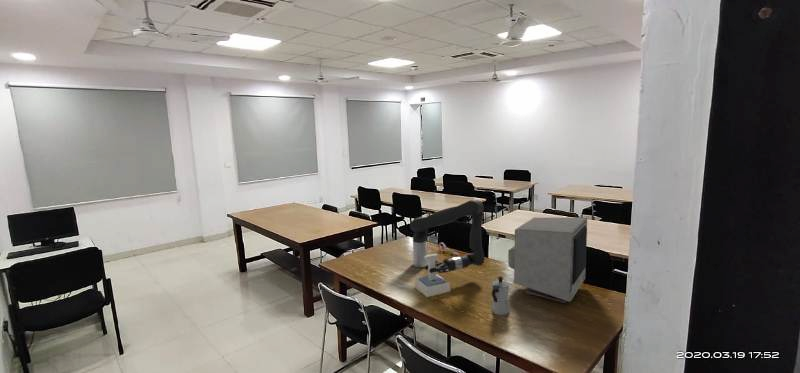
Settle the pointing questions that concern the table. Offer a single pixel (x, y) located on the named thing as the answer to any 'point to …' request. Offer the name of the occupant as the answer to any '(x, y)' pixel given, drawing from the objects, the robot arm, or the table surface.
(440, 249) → the pink and white arrow
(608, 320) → the table surface
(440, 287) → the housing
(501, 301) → the coffee maker
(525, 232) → the crt monitor
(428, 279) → the snap cover
